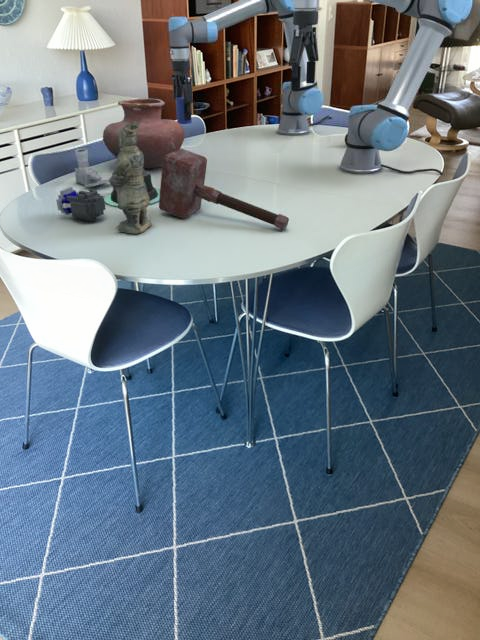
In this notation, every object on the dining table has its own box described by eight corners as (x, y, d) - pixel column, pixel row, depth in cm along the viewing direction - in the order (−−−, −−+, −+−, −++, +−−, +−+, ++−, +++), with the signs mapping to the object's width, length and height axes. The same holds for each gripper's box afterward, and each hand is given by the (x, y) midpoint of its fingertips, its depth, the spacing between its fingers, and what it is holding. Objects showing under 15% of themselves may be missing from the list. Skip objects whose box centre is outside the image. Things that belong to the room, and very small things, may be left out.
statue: (131, 220, 168) (117, 116, 152) (158, 224, 164) (147, 118, 149) (109, 233, 159) (93, 124, 144) (138, 237, 156) (124, 126, 140)
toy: (69, 184, 172) (107, 190, 166) (73, 210, 176) (111, 217, 170) (49, 192, 165) (88, 198, 160) (54, 219, 170) (93, 226, 164)
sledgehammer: (299, 190, 156) (179, 147, 167) (285, 200, 148) (161, 154, 160) (286, 244, 166) (174, 200, 177) (272, 256, 158) (156, 209, 170)
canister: (180, 121, 242) (178, 96, 237) (193, 121, 241) (192, 96, 236) (175, 123, 237) (173, 99, 232) (189, 124, 235) (187, 99, 230)
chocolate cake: (91, 202, 180) (113, 186, 197) (142, 231, 182) (160, 212, 199) (107, 162, 172) (129, 148, 190) (160, 192, 174) (177, 176, 192)
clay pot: (194, 158, 230) (190, 94, 217) (174, 179, 204) (168, 107, 192) (124, 156, 235) (116, 93, 222) (96, 176, 209) (85, 106, 197)
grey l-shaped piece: (86, 146, 202) (111, 153, 193) (91, 178, 208) (115, 186, 199) (65, 151, 196) (90, 158, 187) (70, 183, 202) (95, 192, 193)
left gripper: (161, 58, 232) (166, 116, 243) (182, 62, 217) (186, 123, 229) (178, 57, 235) (181, 114, 247) (199, 60, 221) (202, 121, 233)
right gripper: (308, 8, 177) (305, 80, 188) (278, 11, 158) (277, 91, 169) (330, 8, 174) (326, 81, 185) (303, 11, 155) (300, 92, 166)
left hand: (184, 118), depth 238 cm, fingers closed on canister, 6 cm apart
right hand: (303, 86), depth 177 cm, fingers open, 13 cm apart
